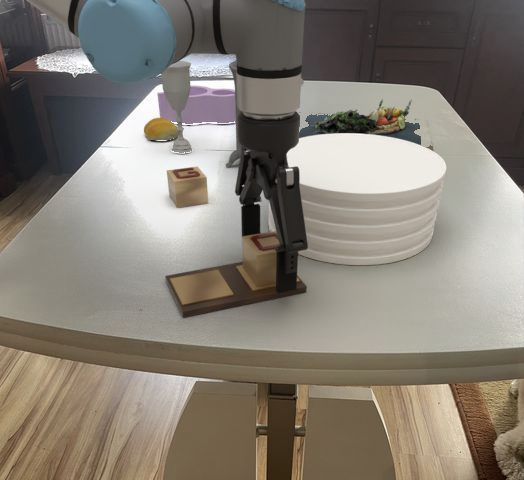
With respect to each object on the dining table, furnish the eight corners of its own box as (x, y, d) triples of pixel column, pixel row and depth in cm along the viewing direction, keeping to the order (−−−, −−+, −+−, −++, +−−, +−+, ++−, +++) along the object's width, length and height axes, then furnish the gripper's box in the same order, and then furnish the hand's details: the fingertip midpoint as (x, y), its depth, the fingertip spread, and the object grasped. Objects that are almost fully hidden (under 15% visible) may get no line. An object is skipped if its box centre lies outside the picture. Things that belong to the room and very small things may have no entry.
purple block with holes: (241, 114, 150) (241, 87, 145) (232, 128, 140) (231, 99, 136) (171, 111, 152) (168, 84, 148) (157, 124, 142) (153, 95, 138)
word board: (183, 318, 73) (182, 310, 72) (165, 281, 80) (164, 274, 79) (306, 292, 78) (306, 284, 77) (279, 260, 85) (279, 253, 84)
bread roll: (150, 144, 130) (148, 126, 127) (141, 133, 136) (139, 116, 134) (184, 140, 132) (182, 122, 130) (174, 129, 139) (172, 113, 136)
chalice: (203, 151, 126) (198, 64, 115) (179, 158, 122) (172, 68, 111) (183, 143, 130) (176, 59, 119) (160, 150, 126) (150, 63, 115)
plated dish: (426, 118, 147) (431, 89, 143) (435, 154, 126) (442, 121, 121) (297, 114, 152) (297, 85, 147) (284, 148, 130) (284, 115, 125)
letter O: (256, 287, 76) (256, 253, 73) (242, 267, 81) (241, 235, 78) (296, 279, 78) (297, 246, 75) (279, 260, 83) (280, 228, 79)
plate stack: (263, 195, 105) (263, 134, 98) (407, 192, 106) (417, 131, 99) (274, 268, 83) (276, 195, 76) (455, 263, 84) (473, 191, 77)
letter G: (177, 208, 101) (174, 180, 97) (169, 196, 105) (166, 169, 102) (208, 203, 102) (206, 176, 99) (199, 191, 107) (197, 165, 103)
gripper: (345, 137, 58) (330, 306, 71) (260, 85, 76) (260, 227, 89) (280, 145, 56) (276, 318, 69) (208, 90, 74) (216, 234, 87)
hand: (267, 267), depth 79 cm, fingers open, 13 cm apart
